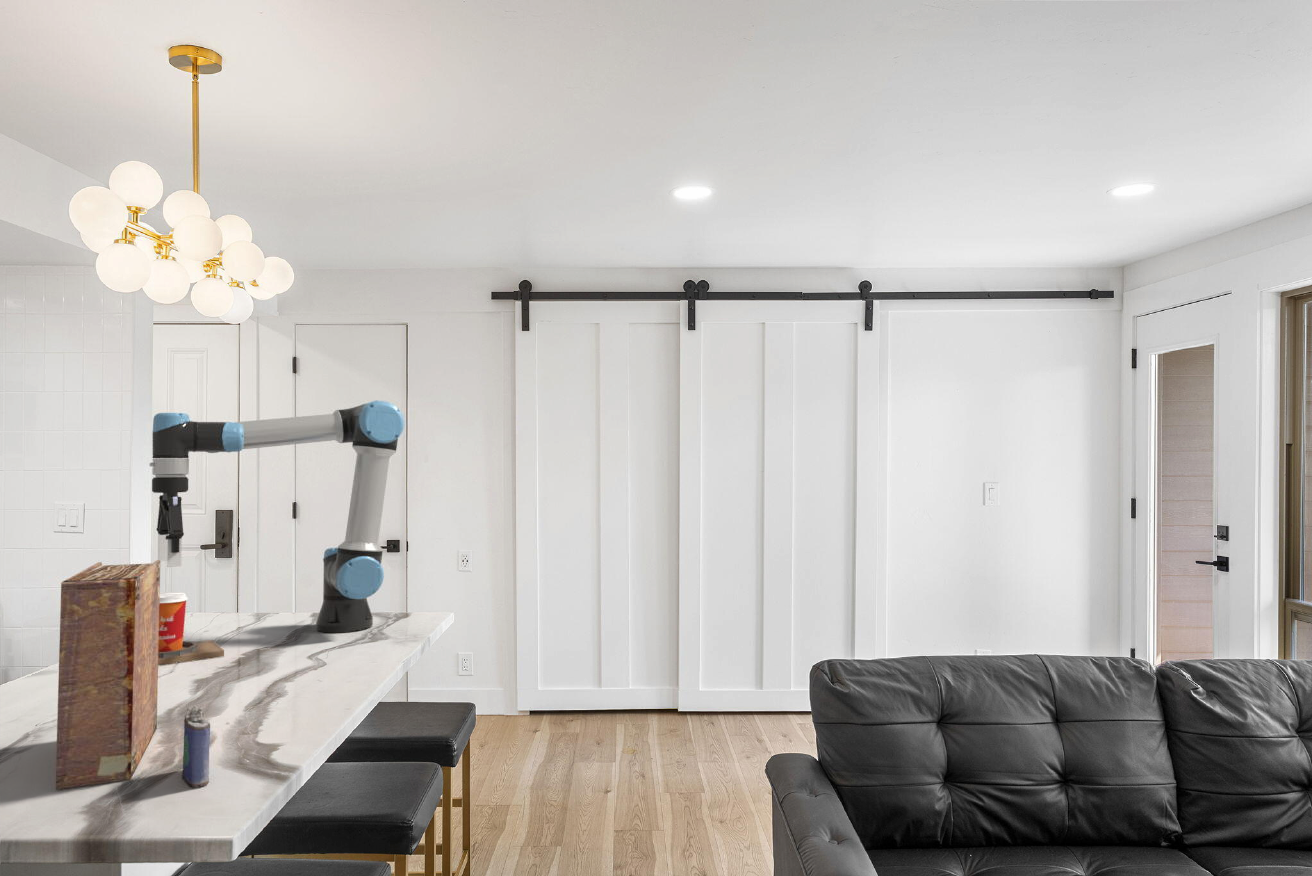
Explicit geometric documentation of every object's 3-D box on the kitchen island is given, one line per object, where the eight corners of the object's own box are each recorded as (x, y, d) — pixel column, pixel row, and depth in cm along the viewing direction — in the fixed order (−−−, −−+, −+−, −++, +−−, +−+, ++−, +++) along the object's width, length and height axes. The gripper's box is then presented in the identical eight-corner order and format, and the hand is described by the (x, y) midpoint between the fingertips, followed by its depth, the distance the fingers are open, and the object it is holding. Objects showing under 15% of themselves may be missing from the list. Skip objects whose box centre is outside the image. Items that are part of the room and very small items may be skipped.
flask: (210, 785, 114) (212, 711, 114) (187, 790, 112) (188, 715, 113) (200, 766, 121) (201, 697, 122) (178, 771, 119) (179, 700, 120)
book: (95, 735, 135) (99, 561, 136) (157, 727, 139) (161, 559, 140) (54, 791, 112) (60, 582, 113) (131, 780, 116) (135, 578, 117)
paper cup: (141, 656, 184) (142, 596, 184) (170, 648, 191) (171, 591, 192) (166, 658, 182) (167, 598, 182) (194, 650, 189) (195, 592, 189)
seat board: (211, 646, 200) (211, 635, 200) (223, 656, 190) (224, 645, 190) (107, 659, 186) (107, 648, 186) (114, 671, 175) (115, 659, 176)
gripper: (144, 475, 196) (143, 560, 196) (160, 477, 177) (159, 570, 177) (178, 475, 201) (177, 557, 201) (198, 476, 182) (197, 567, 182)
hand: (169, 563), depth 189 cm, fingers open, 13 cm apart
